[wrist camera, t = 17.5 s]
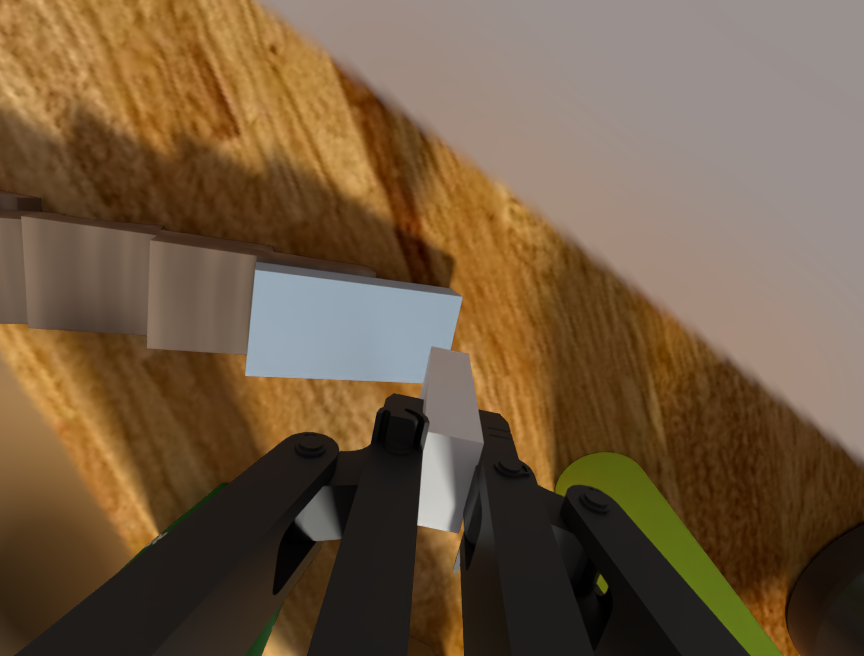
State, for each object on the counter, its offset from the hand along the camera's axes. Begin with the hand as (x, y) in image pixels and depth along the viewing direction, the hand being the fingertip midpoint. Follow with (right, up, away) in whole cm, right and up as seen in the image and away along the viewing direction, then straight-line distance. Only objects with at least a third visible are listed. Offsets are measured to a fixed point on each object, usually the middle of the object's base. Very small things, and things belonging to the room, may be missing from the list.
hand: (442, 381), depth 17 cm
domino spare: (0, +2, +7) cm, 7 cm away
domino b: (-9, +4, +6) cm, 12 cm away
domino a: (-4, +3, +7) cm, 8 cm away
